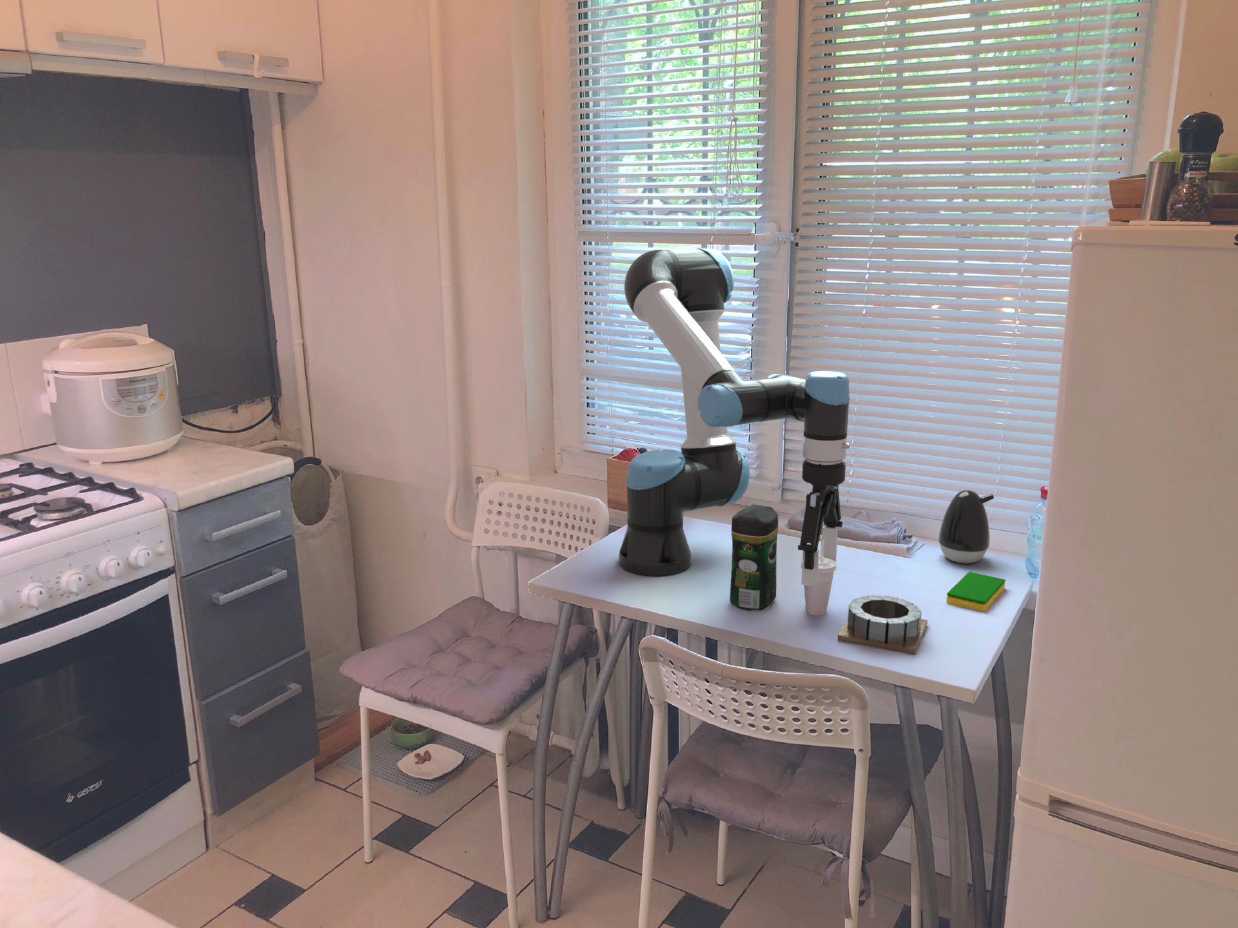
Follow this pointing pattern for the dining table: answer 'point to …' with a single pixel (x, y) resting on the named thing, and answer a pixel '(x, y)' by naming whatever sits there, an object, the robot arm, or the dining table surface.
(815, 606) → the smoothie
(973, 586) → the dish sponge
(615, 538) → the dining table surface
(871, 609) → the stone fire pit ring
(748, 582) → the coffee jar
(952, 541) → the pump dispenser
